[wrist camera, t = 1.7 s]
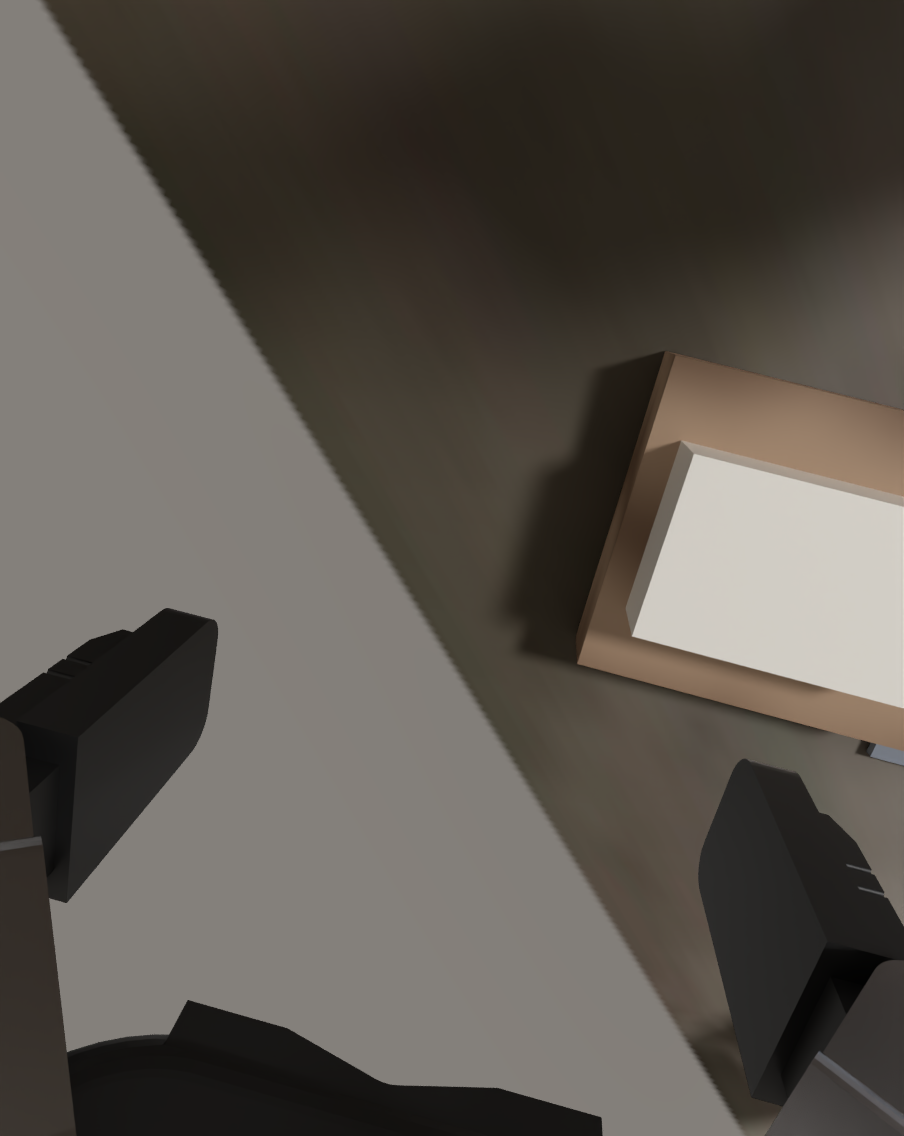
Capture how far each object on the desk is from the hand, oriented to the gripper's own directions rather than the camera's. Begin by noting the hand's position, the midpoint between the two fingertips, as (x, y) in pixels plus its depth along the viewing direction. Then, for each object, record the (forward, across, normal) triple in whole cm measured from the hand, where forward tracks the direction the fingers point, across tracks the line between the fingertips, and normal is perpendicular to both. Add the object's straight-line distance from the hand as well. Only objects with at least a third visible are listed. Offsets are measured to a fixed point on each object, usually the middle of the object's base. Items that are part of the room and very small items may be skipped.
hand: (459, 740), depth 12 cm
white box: (+16, -9, 0) cm, 18 cm away
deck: (+18, -10, 0) cm, 21 cm away
